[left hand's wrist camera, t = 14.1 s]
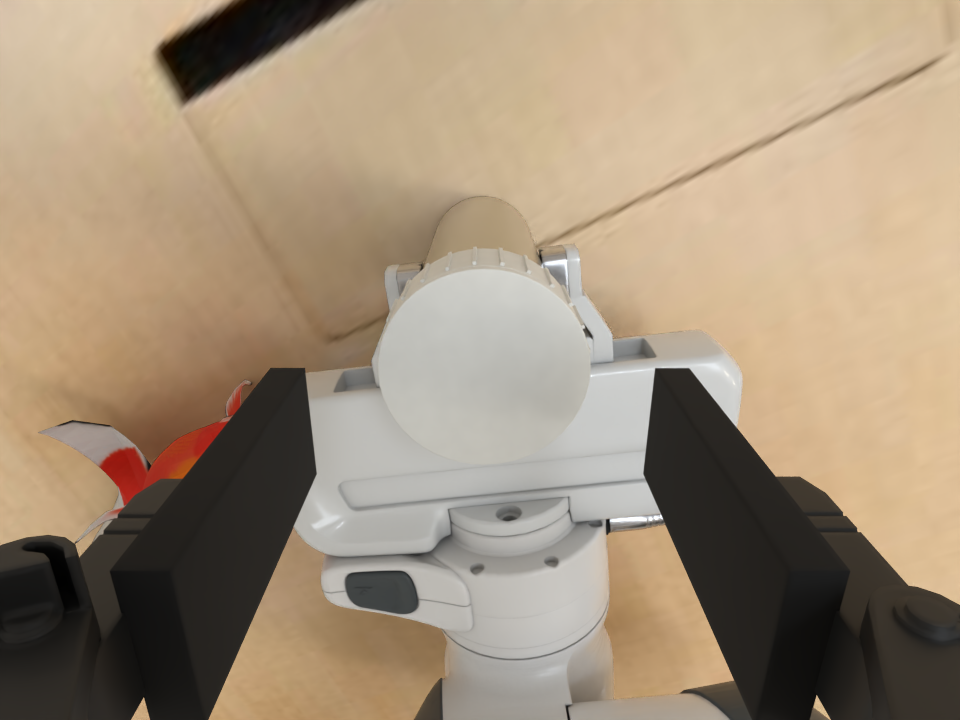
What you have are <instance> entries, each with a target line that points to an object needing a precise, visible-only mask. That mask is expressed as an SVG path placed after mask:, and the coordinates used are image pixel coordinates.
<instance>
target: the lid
mask: <svg viewBox="0 0 960 720" xmlns="http://www.w3.org/2000/svg"><path fill="white" fill-rule="evenodd" d="M386 321H387V324H386V327H385V329H384V331H383V334H382V336H381V338H380V341H379V345H380V348H379V355H378V378H379V385H380V389H381V392H382V396H383V399H384V401H385V403H386V405H387V408H388V410H389V411H390V413H391V415H392V416H393V418H394V419H395V421H396V422H397V423H398V425H399V426H400V427H401V428H402V429H403V431H404V432H405V433H406V434H408V435H409V436H410V437H411V438H412V439H413V440H414V441H416V442H417V443H418V444H420V445H421V446H422V447H424V448H426V449H428V450H429V451H431V452H433V453H435V454H437V455H440V456H442V457H444V458H447V459H450V460H454V461H458V462H463V463H469V464H482V465H487V464H500V463H505V462H511V461H514V460H517V459H521V458H524V457H526V456H528V455H531V454H533V453H535V452H537V451H539V450H540V449H542V448H544V447H546V446H547V445H548V444H550V443H551V442H552V441H554V440H555V439H556V438H557V437H558V436H559V435H561V434H562V433H563V432H564V431H565V430H566V428H567V427H568V426H569V425H570V423H571V422H572V421H573V420H574V418H575V416H576V415H577V413H578V411H579V410H580V408H581V406H582V403H583V401H584V399H585V396H586V393H587V389H588V386H589V380H590V372H591V369H590V353H591V351H590V348H589V345H588V343H587V340H586V337H585V333H584V331H583V329H585V326H584V323H583V321H582V319H581V317H580V315H579V313H578V310H577V308H576V306H575V305H574V306H573V303H572V301H571V299H570V297H569V295H568V292H567V290H566V288H565V286H564V285H560V284H559V283H558V282H557V281H556V279H555V278H554V277H553V276H552V275H551V274H550V272H549V269H548V268H546V267H545V268H542V267H541V266H539V265H538V264H536V263H535V262H533V261H532V260H529V259H528V257H527V255H523V256H521V255H518V254H515V253H512V252H509V251H504V250H503V248H500V247H499V250H498V249H486V248H481V249H477V247H473V249H469V250H464V251H459V252H456V253H453V254H452V252H449V253H448V255H447V256H444V257H442V258H440V259H438V260H437V261H435V262H433V263H431V264H429V263H427V264H426V265H425V268H424V269H423V270H422V271H420V272H419V273H418V274H417V275H416V276H415V277H414V278H413V279H412V280H411V279H409V280H408V281H407V283H406V285H405V288H404V290H403V292H402V294H401V296H400V297H399V299H395V301H394V303H393V306H392V308H391V310H390V312H389V315H388V317H387V319H386Z"/></svg>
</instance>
